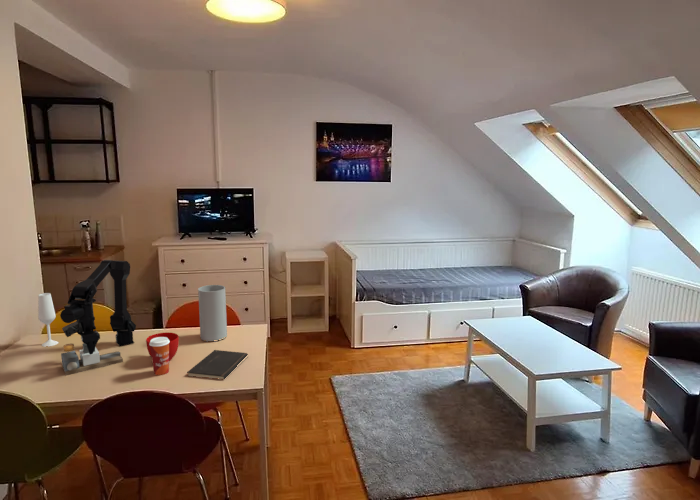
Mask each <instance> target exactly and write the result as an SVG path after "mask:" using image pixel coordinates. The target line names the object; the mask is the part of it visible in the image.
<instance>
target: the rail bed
mask: <svg viewBox="0 0 700 500" xmlns="http://www.w3.org/2000/svg"><path fill="white" fill-rule="evenodd" d="M99 356H100V362H99V363H95V364H90V365H86V366H83V361H82V360H80V359H79V358H80V357H79V355H78V354H77V351H76V350H72V351H68V352H63V353H61V354H60V357H61V368H62V369H63V372H64V375H65V376H69V375H72V374H78V373H82V372H86V371H90V370H95V369H99V368H103V367H107V366H112V365H115V364H119V363H124V359H123V357H122V356H121V352H120V351H117V350H115V351H113V352H108V353H104V354H103V353H102V354H99Z"/></svg>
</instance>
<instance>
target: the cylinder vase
mask: <svg viewBox="0 0 700 500" xmlns="http://www.w3.org/2000/svg"><path fill="white" fill-rule="evenodd" d="M197 292H198V294H197V295H198V311H199V314H198V315H199V335H200V339H201V340H202V341H204V340H206V341H205V342H208V341H214V340H219V339H222V338H224V337H226V338H227V336H228V324H227V322H228V321H227V303H226V302H227V300H226V299H227V298H226V296H227V295H226V287H225V286H224V285H219V284H209V285H207V284H206V285H203V286H200V287H198V288H197ZM224 339H225V338H224ZM214 342H215V341H214Z"/></svg>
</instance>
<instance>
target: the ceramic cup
mask: <svg viewBox="0 0 700 500" xmlns="http://www.w3.org/2000/svg"><path fill="white" fill-rule="evenodd" d="M156 337H167V338H168V339H169V341H170V343H169V362H170V361H172V360H173V358H174V357H175V355H176V354H177V352H178V349H179V340H180V338H179V334H177V333H175V332H158V333H155V334H152V335H149V336H148V337H147V338H146V339H145V342H146V348H147V352H148V354H149V356H150V358H152V355H151V348H150V345H149V343H150V340H151V339H153V338H156Z"/></svg>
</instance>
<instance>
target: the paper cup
mask: <svg viewBox="0 0 700 500" xmlns="http://www.w3.org/2000/svg"><path fill="white" fill-rule="evenodd" d="M169 343H170V341H169V339H168V338H167V337H156V338H153V339H151V340H150V343H149V345H150V348H151V355H152V357H151V360H152V361H151V362H152V368H153V374H154V375H155V376H164V375H167V374H169V372H170V361H169Z"/></svg>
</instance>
